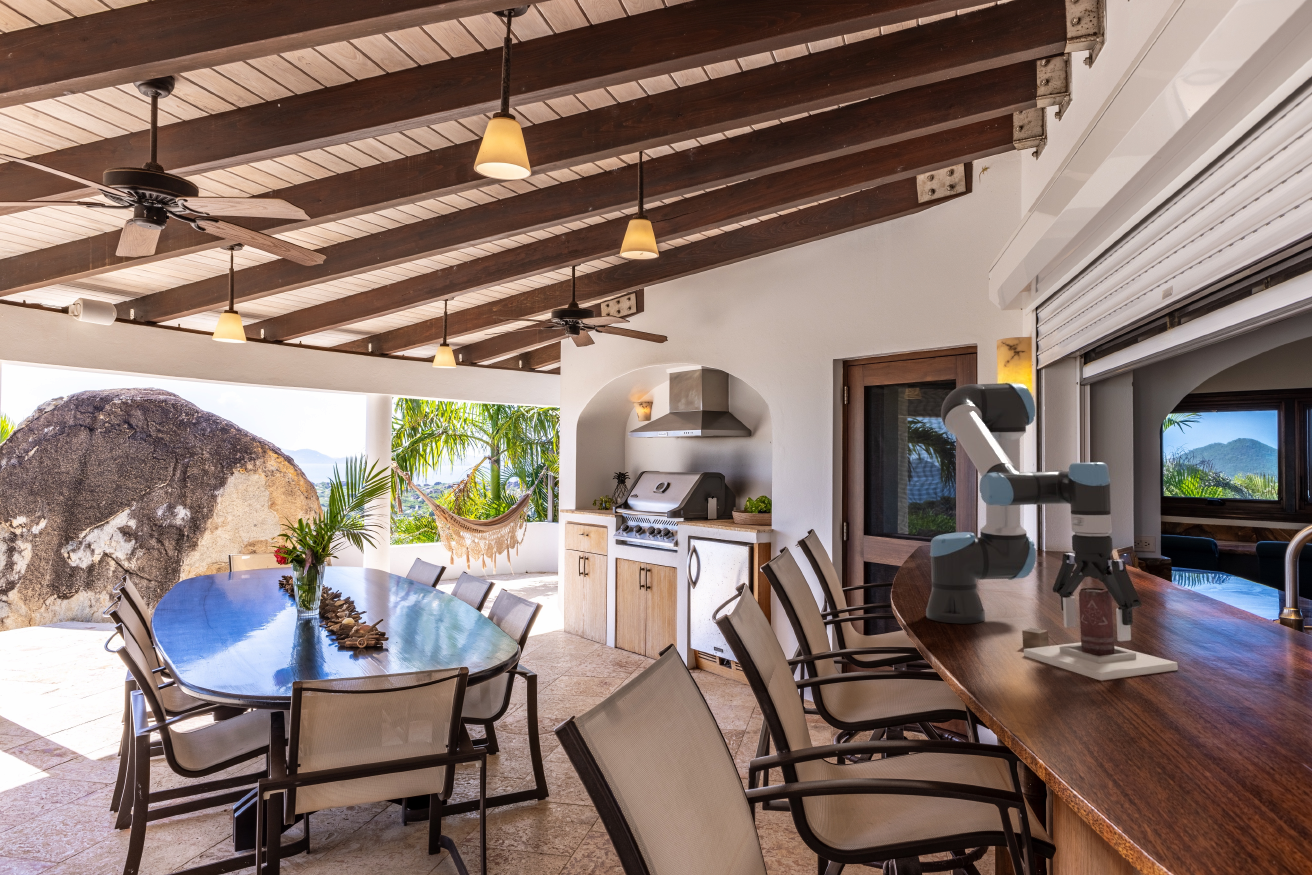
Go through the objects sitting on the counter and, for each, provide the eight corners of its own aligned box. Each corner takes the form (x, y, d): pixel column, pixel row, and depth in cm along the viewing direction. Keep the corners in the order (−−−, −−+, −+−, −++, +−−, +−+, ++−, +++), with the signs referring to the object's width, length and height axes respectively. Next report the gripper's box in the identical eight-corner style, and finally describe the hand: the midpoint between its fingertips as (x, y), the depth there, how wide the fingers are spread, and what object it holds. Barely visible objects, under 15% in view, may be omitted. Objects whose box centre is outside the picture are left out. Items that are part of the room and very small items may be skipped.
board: (1024, 655, 165) (1023, 643, 165) (1094, 647, 171) (1094, 635, 171) (1100, 680, 146) (1100, 666, 146) (1177, 669, 152) (1177, 656, 152)
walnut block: (1023, 647, 173) (1022, 630, 173) (1031, 644, 175) (1030, 627, 175) (1040, 650, 169) (1039, 633, 169) (1048, 647, 172) (1047, 630, 172)
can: (1122, 658, 155) (1118, 591, 156) (1091, 659, 156) (1088, 592, 156) (1106, 651, 162) (1102, 586, 162) (1076, 651, 162) (1073, 587, 162)
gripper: (1032, 530, 170) (1036, 623, 169) (1129, 540, 146) (1135, 648, 146) (1059, 528, 172) (1063, 620, 172) (1158, 538, 148) (1164, 644, 148)
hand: (1096, 633), depth 159 cm, fingers open, 13 cm apart
